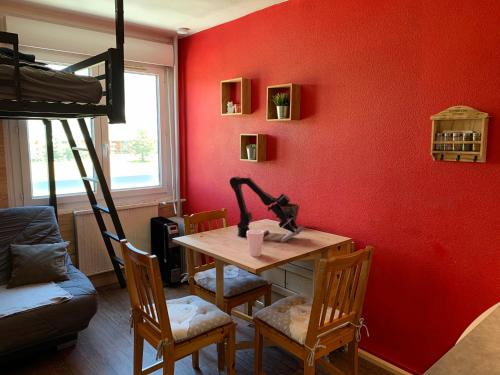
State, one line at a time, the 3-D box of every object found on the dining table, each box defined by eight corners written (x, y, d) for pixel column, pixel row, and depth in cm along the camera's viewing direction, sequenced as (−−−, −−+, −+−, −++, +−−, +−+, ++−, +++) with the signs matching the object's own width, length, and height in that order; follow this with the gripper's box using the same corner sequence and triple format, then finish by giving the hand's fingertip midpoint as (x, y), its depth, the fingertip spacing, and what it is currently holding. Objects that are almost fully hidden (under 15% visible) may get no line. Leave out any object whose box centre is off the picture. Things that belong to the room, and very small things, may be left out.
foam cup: (254, 251, 214) (254, 228, 213) (267, 254, 209) (267, 231, 207) (243, 255, 207) (243, 232, 205) (256, 258, 201) (256, 234, 200)
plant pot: (298, 229, 263) (298, 207, 261) (276, 228, 266) (276, 206, 264) (299, 225, 277) (299, 203, 275) (279, 224, 280) (279, 203, 278)
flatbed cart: (259, 240, 235) (259, 236, 235) (266, 234, 250) (266, 230, 250) (279, 242, 231) (279, 238, 231) (286, 236, 246) (286, 231, 245)
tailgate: (280, 240, 231) (297, 231, 226) (286, 233, 246) (302, 225, 241) (281, 242, 231) (298, 234, 226) (287, 236, 245) (304, 227, 241)
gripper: (284, 206, 226) (302, 225, 223) (291, 201, 243) (308, 219, 241) (271, 218, 229) (288, 237, 227) (279, 212, 247) (295, 230, 245)
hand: (295, 230), depth 235 cm, fingers open, 9 cm apart
